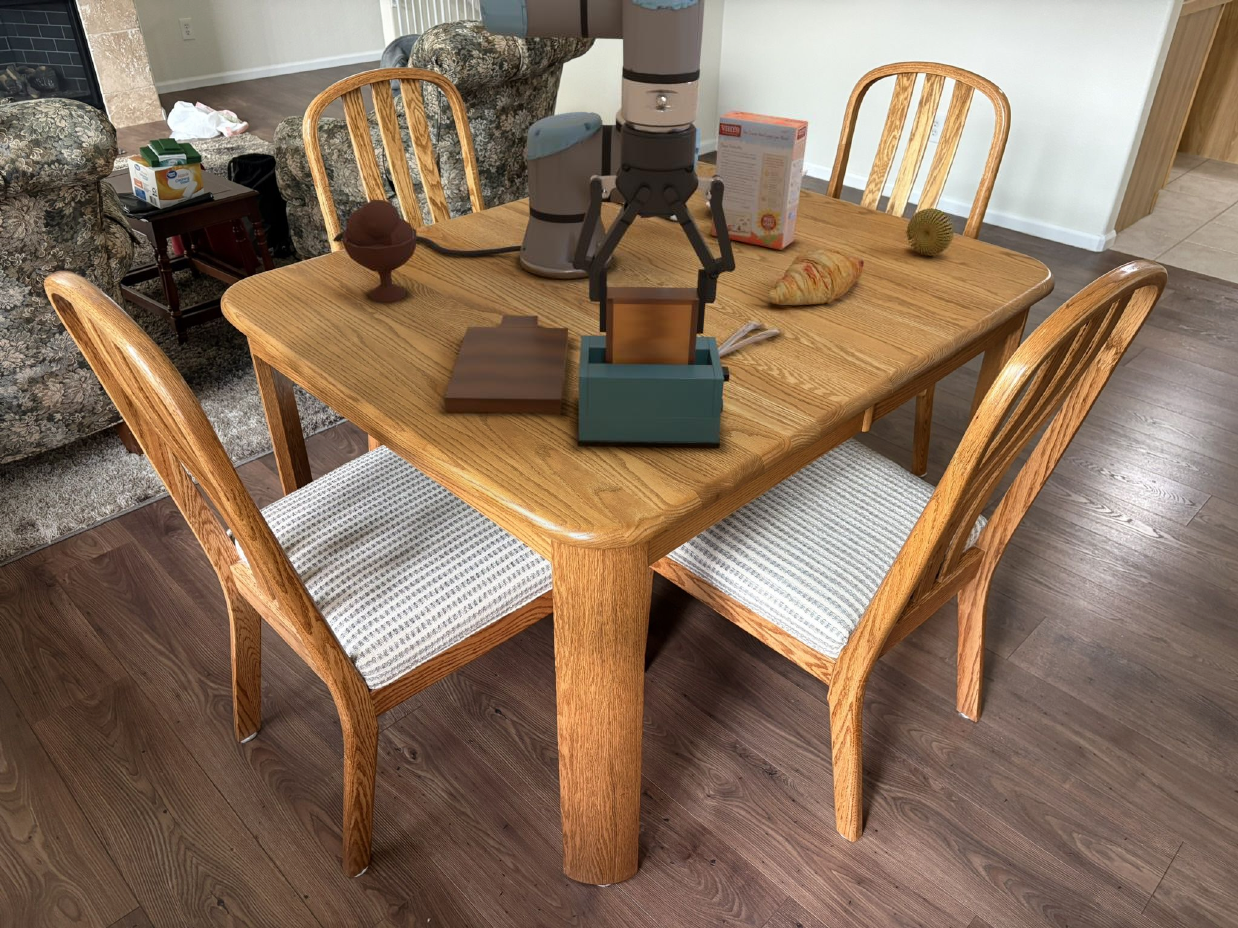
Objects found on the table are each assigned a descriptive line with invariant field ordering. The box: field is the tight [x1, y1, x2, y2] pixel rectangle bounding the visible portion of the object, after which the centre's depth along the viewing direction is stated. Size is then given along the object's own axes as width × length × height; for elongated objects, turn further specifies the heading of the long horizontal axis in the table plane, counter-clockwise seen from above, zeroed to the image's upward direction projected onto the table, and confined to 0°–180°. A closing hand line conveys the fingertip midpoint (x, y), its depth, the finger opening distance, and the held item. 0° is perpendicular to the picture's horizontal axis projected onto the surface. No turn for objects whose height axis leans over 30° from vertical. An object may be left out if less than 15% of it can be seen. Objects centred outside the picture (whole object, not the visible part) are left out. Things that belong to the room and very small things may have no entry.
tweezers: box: [718, 320, 780, 358], centre depth 124 cm, size 17×5×2 cm, turn 136°
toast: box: [605, 286, 699, 365], centre depth 102 cm, size 10×3×10 cm, turn 90°
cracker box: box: [710, 110, 809, 251], centre depth 156 cm, size 14×6×21 cm, turn 58°
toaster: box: [576, 334, 731, 449], centre depth 106 cm, size 17×11×9 cm, turn 90°
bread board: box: [444, 314, 569, 414], centre depth 119 cm, size 24×14×2 cm, turn 0°
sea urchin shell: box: [906, 207, 955, 257], centre depth 155 cm, size 8×4×8 cm, turn 48°
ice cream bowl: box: [341, 199, 418, 303], centre depth 135 cm, size 11×11×15 cm
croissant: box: [767, 249, 865, 306], centre depth 141 cm, size 21×10×8 cm, turn 130°
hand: (650, 327), depth 102 cm, fingers closed on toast, 10 cm apart
